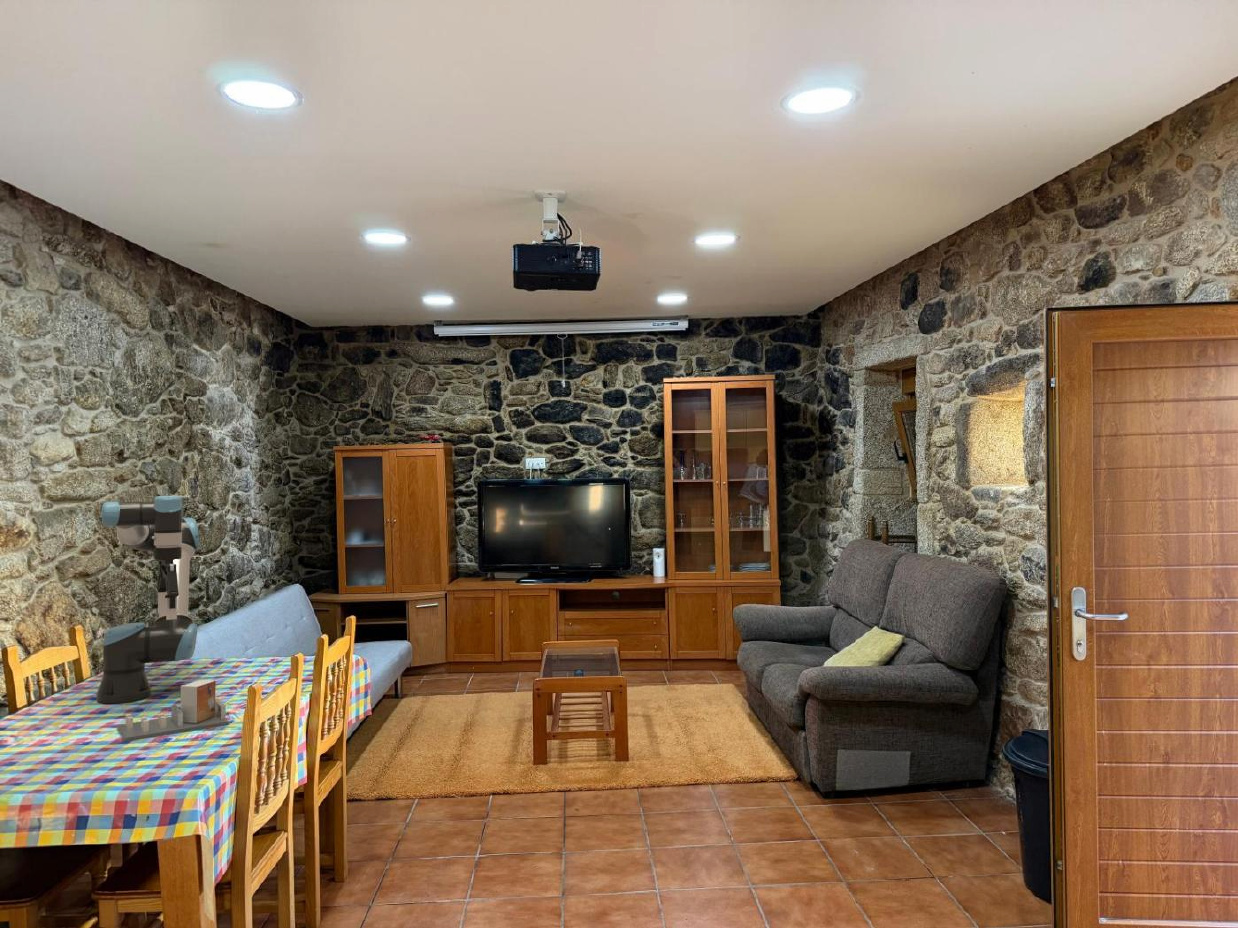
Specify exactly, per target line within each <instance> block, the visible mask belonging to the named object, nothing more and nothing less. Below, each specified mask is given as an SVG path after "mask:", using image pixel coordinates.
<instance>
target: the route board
mask: <svg viewBox="0 0 1238 928" xmlns="http://www.w3.org/2000/svg"><path fill="white" fill-rule="evenodd" d="M222 726H229V720H228V719H227V718H226V720H222V721H221V720H220V719H219V718H218V717H217V716H216V715H215V717H212V718H209V719H206V720H203V721H200V722H198V723H185V722H183V727H177V726H176V724H175V723H174V722H173V721H172V720H171V716H168V717H167V716H165V714H164V712H163V713H158V718H155V719H147V716H142V717H141V718H140V721H136V722H134V717H133V716H132V714H131V713H128V714H125V723H122V724H117V725H116V730H117V731H118V733H119V735H120V736H121V738H122V739H123V742H132V741H137V740H145V739H149V738H156V737H162V736H169V735H174V734H180V733H186V732H192V731H198V730H204V729H209V728H216V727H217V728H218V727H222Z"/></svg>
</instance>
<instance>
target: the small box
mask: <svg viewBox="0 0 1238 928" xmlns="http://www.w3.org/2000/svg"><path fill="white" fill-rule="evenodd" d="M215 699H216V680H212V679H211V680H209V679H207V680H206V679H198V680H196V681H193V682H190V683H187V684H186V683H185V684H182V685H180V707H179V709H180V710H181V711H182V712H183V722H185V723H198V722H200V721H203V720H206V719H209V718H212V717H215Z"/></svg>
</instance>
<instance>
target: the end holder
mask: <svg viewBox="0 0 1238 928" xmlns="http://www.w3.org/2000/svg"><path fill="white" fill-rule="evenodd" d="M170 707H171V711H170V712H171V713H170V715H171V716H170V717H171V720H172V721H173V722H174V723H175V724H176V726H177V727H183V712H182V711H181V710H180V707H178V705H177V704H174V705H171V706H170ZM226 709H227V708H226V704H225V703H224V702H222V701H221V700H220V699H219V698H215V715H216V716H217V717H218V718H219V719H220V720H221V721H222V720H226V719H227V718H226V714H227V712H226Z"/></svg>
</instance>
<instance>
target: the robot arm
mask: <svg viewBox="0 0 1238 928" xmlns="http://www.w3.org/2000/svg"><path fill="white" fill-rule="evenodd" d="M182 501H183V500H182V497H181V496H179V495H158V496H155V498H154V501H109V502H108V501H106V502H104V503H103V504H102V507H101V524H102V525H103V526H104V527H112V528H113V527H115V528H116V535H117V538H118V539H119V541H120V542H121V543H122V544H123V545H125V546H126V547H129V548H131V549H133V550H134V549H135V550H139V551H141V552H142V551H143V552H153V559H154V560H155V561H158V573H157V583H156V589H157V592H158V593H157V614H159V616H158V617H157V618H156V619H154V621H153V626H147V624H146V623H145V622H143V621H142V622H141V621H140V622H131V623H123V624H120V625H117V626H116V625H115V626H113V627H110V628H108V629H106V631H105V632H104V633H103V643H102V646H103V655H102V657H103V660H102V661H103V664H102V665H103V666H102V667H103V669H102V670H103V671H102V678H101V680H100V684H99V687H98V688H97V692H96V702H98V703H100V704H101V703H102V704H121V703H122V704H123V703H130V702H136V701H141V700H144V699H146V698H149V697H150V696H151V695H152V691H151V690H152V688H151V684H150V682H149V679H148V676H147V673H146V669H145V668H146V666H145V665H146V664H153V663H167V662H180V661H187V660H190V659H192V657H193V656H194V653H195V649H196V643H197V637H198V624H196V623H194V620H193V618H192V617H190V616H189V599H190V597H189V595H190V566H191V565H190V563H191V558H193V557H194V555H195V553H196V551H198V550H200V538H199V529H198V522H197V521H196V520H197V519H195V518H193V517H184V508H183V502H182Z"/></svg>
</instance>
